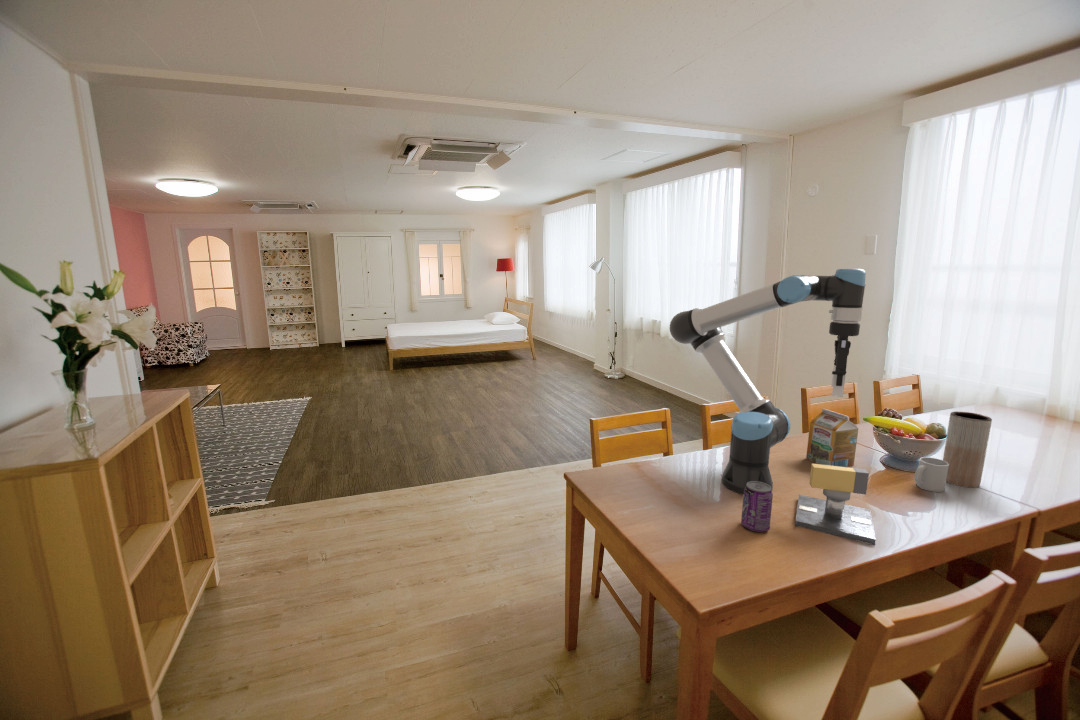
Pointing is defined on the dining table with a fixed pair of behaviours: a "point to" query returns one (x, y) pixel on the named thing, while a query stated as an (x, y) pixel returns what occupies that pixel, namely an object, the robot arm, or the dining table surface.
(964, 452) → the planter
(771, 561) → the dining table surface
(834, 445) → the milk carton
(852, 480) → the handle
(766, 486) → the beverage can
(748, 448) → the robot arm
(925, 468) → the grey cup
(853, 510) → the post base
